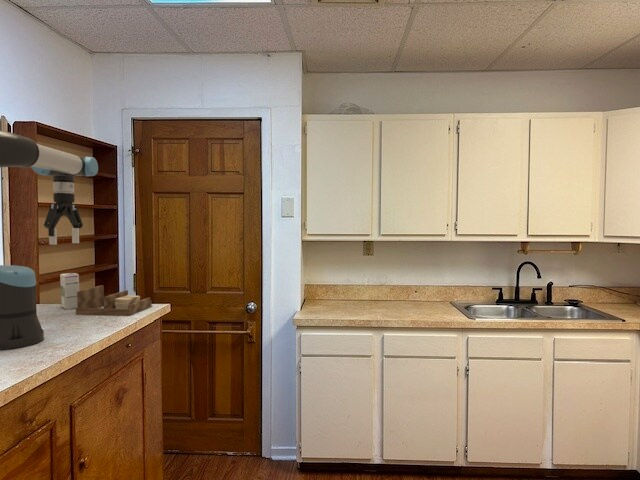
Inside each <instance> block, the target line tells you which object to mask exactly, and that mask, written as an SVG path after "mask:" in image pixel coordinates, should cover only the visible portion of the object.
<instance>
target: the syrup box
mask: <svg viewBox="0 0 640 480" xmlns="http://www.w3.org/2000/svg"><path fill="white" fill-rule="evenodd" d="M79 275H80V274H78V273H74V272H68V273H61V274H60V276H59V277H60V279H59V280H60V301H61V302H60V303H61V306H60V307H61V308H63V309H65V310H70V309H71V310H72V308H73V309H76V308H77V292H78V291H80V276H79Z"/></svg>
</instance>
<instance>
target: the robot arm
mask: <svg viewBox="0 0 640 480" xmlns="http://www.w3.org/2000/svg"><path fill="white" fill-rule="evenodd" d="M14 167H15V168H17V167H18V168H22V169H27V168H31V169H32V171H34V173H36V174H38V175H40V176H45V177H47V176H48V177H51V178H52V179H53V180H52V186H53V187H52V191H53V197H52V198H53V199H52V201H53V202H54V203H50V204H49V209H48V213H47V215H46V218H45V220H44V223H43V227H44V228H46V229H47V230H48V245H56V246H57V245H58V237H57V236H58V234H57V233H58V231H57V230H58V229H57V228H56V226H57V224H58V223H59V221H60V219H61V217H63V216H65V217H67V219H68V220H69V223H70V225H72V228H71V243H72V244H79V243H80V229H82V228H83V226H84V224H83V223H84V222H83V221H82V218H81V215H80V213H79V208H78V205H76V204H75V205H73V204H74V203H75V202H76V201H75V200H76V199H75V194H74V193H75V177H94V176H96V175H97V174H98V173H99V172H98V171H99V164H98V161H97V159H96V158H95V157H92V156H79V155H77V154H73V153H69V152H66V151H63V150H62V151H61V150H59V149H56V148H52V147H49V146H46V145H45V146H44V145H41V144H38V143H37V142H36V141H34V139H32V138H29V137H25V136H23V135H19V134H16V133H13V132H10V131H5V130H2V129H0V168H14ZM44 339H45V332H44V329H43V328H42V325H41V322H40V320H39V317H38V315H37V280H36V273H35V270H33V269H32V268H30V267H28V266H22V265H13V264H12V265H8V264H0V351H1V350H10V349H19V348H23V347H28V346H32V345H35V344H38V343H40V342H42V341H43V340H44Z"/></svg>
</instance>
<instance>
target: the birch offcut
mask: <svg viewBox="0 0 640 480" xmlns="http://www.w3.org/2000/svg"><path fill="white" fill-rule="evenodd" d="M140 300H141V296H140V295H129V294H128V295H127V296H123V297H120V298H116V299H115V306H120V307H128V305H130V304H133V303H135V302H138V301H140Z"/></svg>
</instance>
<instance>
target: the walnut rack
mask: <svg viewBox="0 0 640 480" xmlns="http://www.w3.org/2000/svg"><path fill="white" fill-rule="evenodd" d="M104 290H105V289H104V284H103V285H97V286H93V287H89V288H85V289H82V290H79V291H78V292H77V308H75V315H76V316H77V315H81V316H82V315H83V316H116V317H117V316H118V317H120V316H121V317H130V316H132V315H135V314H137V313H139V312H142V311H144V310H147V309H149V308H151V307H153V304H152V300H151V297H145V298H144V299H140V301H138V302H135V303H133V304H130V305H128V309H116V306H115V299H116V298H120V297H123V296H127V295H129V290H128V289H126V290H123V291H122V290H121V291H120V292H119V291H118V292H116V293H112V294H109V295H107V296H104V295H105V294H104V293H105V291H104ZM100 306H102V307H103V308H102V307H100ZM98 307H99V308H98Z"/></svg>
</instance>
